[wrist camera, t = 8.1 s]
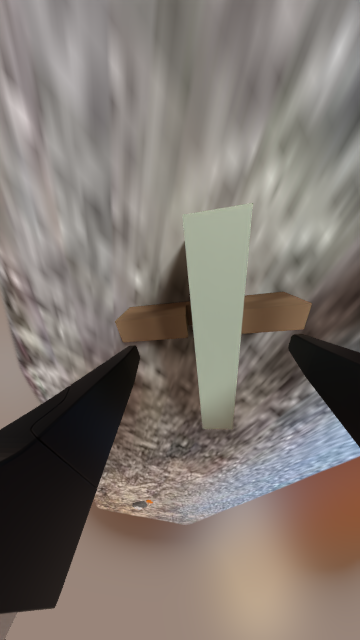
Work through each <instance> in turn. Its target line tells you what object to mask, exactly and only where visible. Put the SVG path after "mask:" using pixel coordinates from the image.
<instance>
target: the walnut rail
mask: <svg viewBox="0 0 360 640" xmlns="http://www.w3.org/2000/svg"><path fill="white" fill-rule="evenodd" d="M311 305H312V303H310V302H307V301H305V300H302V299H300V298H298V297H295V296H293V295H290V294H288V293H285V292H276V293H266V294H257V295H247V296H244V307H243V318H242V329H241V334H245V333H259V332H273V331H287V330H300V329H304V327H305V324H306V321H307V317H308V314H309V311H310V308H311ZM115 323H116V325H117V328H118V330H119V333H120V336H121V338H122V341H123V342H135V341H149V340H162V339H176V338H188V325H193V322H192V311H191V301H188V302H178V303H168V304H158V305H148V306H138V307H130V308H129V309H128V310H127V311H126V312H125V313H123V314H122V315H121V316H120V317H119V318H118V319H117V320H116V321H115Z"/></svg>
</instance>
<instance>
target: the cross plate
mask: <svg viewBox="0 0 360 640" xmlns="http://www.w3.org/2000/svg"><path fill="white" fill-rule="evenodd" d="M252 207H253V203H249V204H244V205H238V206H232V207H226V208H220V209H214V210H209V211H203V212H197V213H191V214H185V215H182V217H183V227H184V238H185V248H186V259H187V269H188V280H189V290H190V301H191V311H192V322H193V332H194V343H195V353H196V364H197V374H198V385H199V395H200V406H201V416H202V427H203V429H233V419H234V408H235V396H236V385H237V374H238V363H239V352H240V341H241V329H242V318H243V307H244V296H245V285H246V274H247V262H248V251H249V240H250V229H251V218H252Z"/></svg>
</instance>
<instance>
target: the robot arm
mask: <svg viewBox="0 0 360 640" xmlns="http://www.w3.org/2000/svg"><path fill="white" fill-rule="evenodd" d="M289 351H290V353H291V354H292V356H293V358H294V359H295V361H296V362H297V364H298V366H299V367H300V369H301V370H302V372H303V374H304V375H305V377H306V378H307V379H308V381H309V382H310V383H311V385H312V386H313V387H314V388H315V390H316V391H317V392H318V394H319V395H320V396H321V398H322V399H323V400H324V402H325V403H326V404H327V405H328V407H329V408H330V409H331V411H332V412H333V413H334V415H335V416H336V417H337V418H338V420H339V421H340V422H341V424H342V425H343V426H344V428H345V429H346V430H347V432H348V433H349V434H350V435H351V437H352V438H353V439H354V441H355V442H356V443H357V445H358V446H359V447H360V353H359V352H356V351H353V350H350V349H347V348H344V347H341V346H337V345H334V344H331V343H328V342H325V341H322V340H319V339H316V338H313V337H310V336H306V335H303V334H294V335H292V336H291V340H290V343H289ZM139 360H140V355H139V352H138V349H137V347H136V346H135V345H134V346H128V347H127V348H125V349H124V350H122V351H121V352H119V353H118V354H116V355H115V356H113V357H112V358H110V359H109V360H107V361H106V362H104V363H103V364H101V365H100V366H98V367H97V368H96V369H94V370H93V371H91V372H90V373H88V374H87V375H85V376H84V377H82V378H81V379H79V380H78V381H76V382H75V383H73V384H72V385H71V386H69V387H67V388H66V389H64V390H63V391H61V392H60V393H58V394H57V395H55V396H54V397H52V398H51V399H49V400H48V401H46V402H44V403H43V404H41V405H40V406H38V407H36V408H35V409H33V410H32V411H30V412H28V413H27V414H25V415H23V416H22V417H20V418H19V419H17V420H15V421H14V422H12V423H10V424H9V425H7V426H6V427H4V428H2V429H1V430H0V640H5V637H6V635H7V633H8V631H9V629H10V627H11V624H12V623H13V620H14V618H15V616H16V614H17V612H23V611H34V610H43V609H52V608H55V606H56V604H57V601H58V599H59V596H60V593H61V591H62V588H63V585H64V582H65V579H66V576H67V573H68V571H69V568H70V565H71V562H72V559H73V556H74V553H75V550H76V548H77V545H78V542H79V539H80V536H81V533H82V531H83V528H84V525H85V522H86V519H87V516H88V513H89V511H90V508H91V505H92V502H93V499H94V496H95V494H96V491H97V487H98V485H99V482H100V479H101V476H102V473H103V470H104V467H105V465H106V462H107V459H108V456H109V453H110V450H111V447H112V445H113V442H114V439H115V436H116V433H117V430H118V428H119V425H120V422H121V419H122V416H123V413H124V410H125V408H126V405H127V402H128V399H129V396H130V393H131V390H132V388H133V385H134V381H135V377H136V373H137V369H138V365H139Z"/></svg>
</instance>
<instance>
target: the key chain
mask: <svg viewBox="0 0 360 640" xmlns="http://www.w3.org/2000/svg"><path fill="white" fill-rule="evenodd" d="M154 501H157V500H154ZM154 501H151V500H147V501H140V502H136V503H133V504H132V506H133V507H134V508H135V509H138V510H140V509H142V508H144V507H147V506H150V503H153V502H154ZM148 503H149V504H148Z"/></svg>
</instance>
